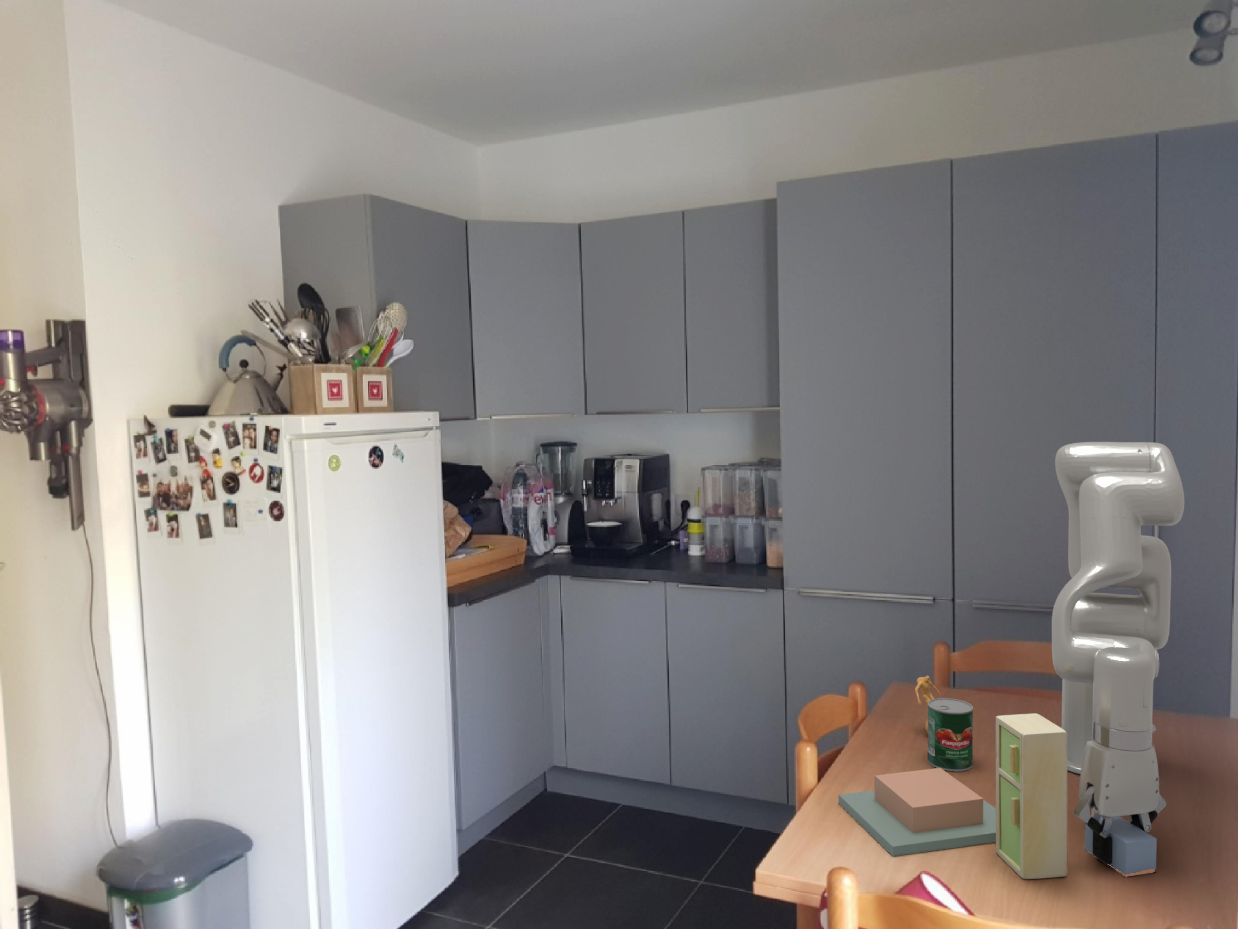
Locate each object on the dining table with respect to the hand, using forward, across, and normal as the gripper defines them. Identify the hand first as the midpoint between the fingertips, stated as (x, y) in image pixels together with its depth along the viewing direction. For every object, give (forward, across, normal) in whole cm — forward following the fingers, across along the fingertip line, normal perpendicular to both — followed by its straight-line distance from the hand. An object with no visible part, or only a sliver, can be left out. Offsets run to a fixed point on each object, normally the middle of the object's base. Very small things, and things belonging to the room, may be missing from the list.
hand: (1119, 855), depth 131 cm
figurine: (+1, 0, -50) cm, 50 cm away
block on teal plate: (+1, +20, -18) cm, 27 cm away
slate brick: (+1, 0, 0) cm, 1 cm away
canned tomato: (+1, +4, -37) cm, 37 cm away
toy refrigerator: (+1, +13, -2) cm, 14 cm away
